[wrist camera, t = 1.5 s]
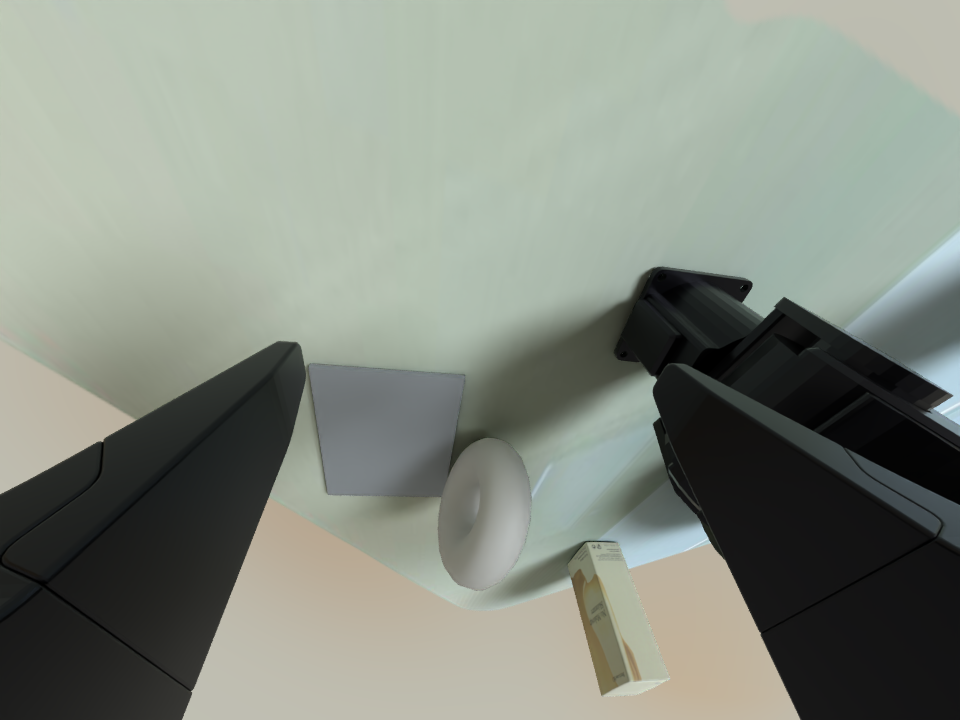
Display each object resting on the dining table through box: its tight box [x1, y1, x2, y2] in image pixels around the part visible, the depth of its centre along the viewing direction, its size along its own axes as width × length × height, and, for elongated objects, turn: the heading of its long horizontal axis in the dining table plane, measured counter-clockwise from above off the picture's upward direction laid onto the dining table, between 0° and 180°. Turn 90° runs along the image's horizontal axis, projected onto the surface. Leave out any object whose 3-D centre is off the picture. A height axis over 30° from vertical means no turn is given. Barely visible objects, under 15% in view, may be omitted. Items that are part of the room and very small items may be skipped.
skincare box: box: [568, 542, 670, 696], centre depth 38 cm, size 6×4×12 cm
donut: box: [438, 438, 532, 591], centre depth 25 cm, size 10×3×10 cm, turn 152°
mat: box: [308, 364, 465, 497], centre depth 27 cm, size 10×14×1 cm
